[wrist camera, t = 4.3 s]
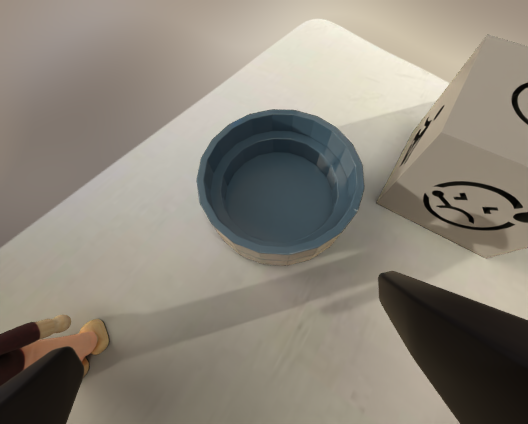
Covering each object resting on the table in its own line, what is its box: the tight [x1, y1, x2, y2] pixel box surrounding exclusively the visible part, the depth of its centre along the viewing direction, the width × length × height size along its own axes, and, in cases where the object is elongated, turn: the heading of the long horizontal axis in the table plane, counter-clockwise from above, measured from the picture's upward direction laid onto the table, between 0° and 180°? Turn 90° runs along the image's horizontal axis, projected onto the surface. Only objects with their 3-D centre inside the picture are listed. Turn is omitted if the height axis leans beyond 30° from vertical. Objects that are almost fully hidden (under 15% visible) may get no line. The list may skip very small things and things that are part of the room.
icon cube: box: [376, 35, 528, 258], centre depth 19 cm, size 10×10×10 cm
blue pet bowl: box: [197, 109, 364, 266], centre depth 22 cm, size 13×13×5 cm
